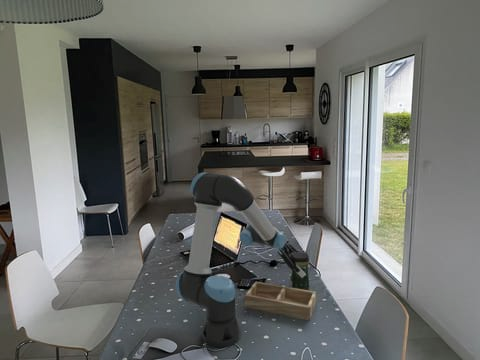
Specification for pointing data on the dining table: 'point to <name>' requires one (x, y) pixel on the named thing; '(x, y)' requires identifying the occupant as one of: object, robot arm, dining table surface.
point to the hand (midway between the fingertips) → (306, 272)
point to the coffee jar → (302, 262)
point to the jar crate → (281, 300)
